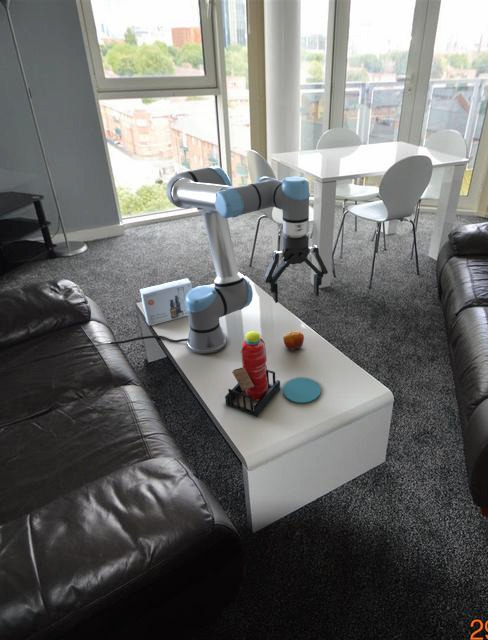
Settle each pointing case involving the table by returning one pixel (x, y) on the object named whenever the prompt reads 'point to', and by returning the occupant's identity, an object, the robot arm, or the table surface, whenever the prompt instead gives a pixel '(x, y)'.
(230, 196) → the robot arm
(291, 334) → the fruit
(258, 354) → the water bottle
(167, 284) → the skincare box
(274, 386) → the rack
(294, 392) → the mat
